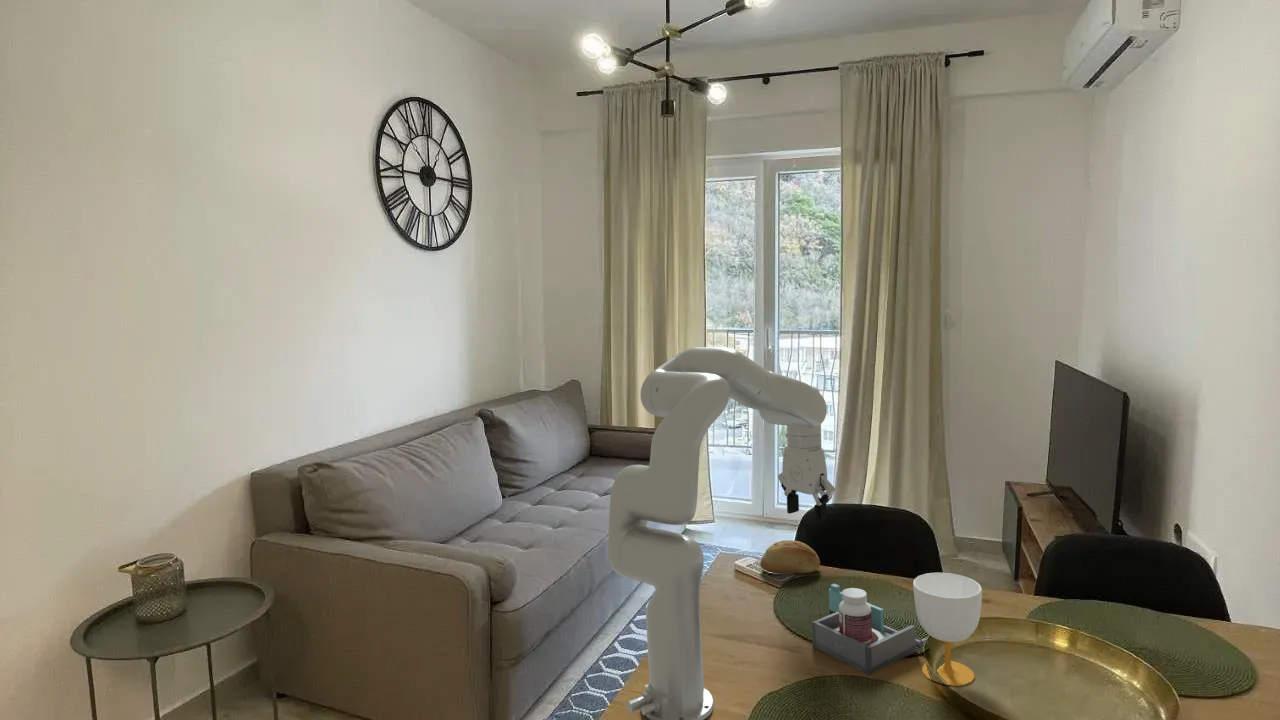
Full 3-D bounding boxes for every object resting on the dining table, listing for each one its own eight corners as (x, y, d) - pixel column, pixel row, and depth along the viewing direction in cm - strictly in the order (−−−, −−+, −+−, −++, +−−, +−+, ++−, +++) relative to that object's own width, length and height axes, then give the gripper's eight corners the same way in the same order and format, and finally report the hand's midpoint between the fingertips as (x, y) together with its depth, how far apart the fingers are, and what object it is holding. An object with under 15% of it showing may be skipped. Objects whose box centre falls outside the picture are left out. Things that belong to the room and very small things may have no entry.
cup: (941, 696, 130) (940, 603, 128) (901, 664, 141) (899, 578, 139) (997, 683, 133) (997, 592, 131) (953, 652, 144) (952, 568, 142)
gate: (880, 633, 153) (879, 604, 153) (828, 610, 165) (828, 584, 164) (884, 631, 154) (883, 603, 153) (832, 609, 166) (831, 582, 165)
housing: (874, 677, 137) (873, 651, 136) (809, 644, 150) (808, 620, 150) (930, 648, 146) (930, 623, 146) (864, 620, 160) (864, 597, 159)
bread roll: (824, 579, 182) (823, 547, 182) (763, 581, 183) (762, 549, 182) (816, 564, 192) (815, 534, 191) (758, 566, 193) (757, 536, 192)
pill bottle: (879, 647, 145) (877, 593, 144) (858, 657, 142) (856, 602, 141) (854, 635, 151) (852, 583, 149) (833, 645, 147) (831, 592, 146)
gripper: (765, 437, 172) (767, 511, 174) (821, 449, 157) (824, 529, 159) (788, 432, 176) (790, 504, 178) (845, 444, 161) (847, 522, 163)
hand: (806, 516), depth 169 cm, fingers open, 7 cm apart
